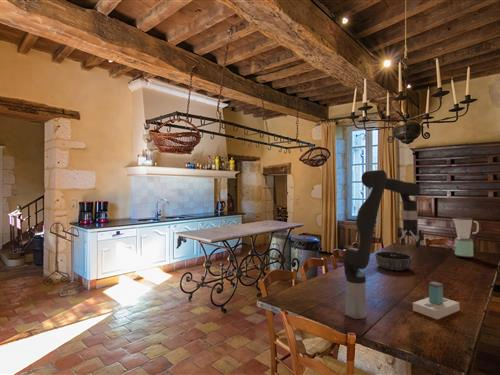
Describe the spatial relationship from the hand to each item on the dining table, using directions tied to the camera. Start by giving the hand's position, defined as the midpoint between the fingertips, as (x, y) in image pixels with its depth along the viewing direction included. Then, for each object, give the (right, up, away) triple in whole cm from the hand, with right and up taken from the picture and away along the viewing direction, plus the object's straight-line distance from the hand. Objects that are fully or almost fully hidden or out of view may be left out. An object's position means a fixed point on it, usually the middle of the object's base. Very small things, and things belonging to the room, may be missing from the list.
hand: (410, 246), depth 169 cm
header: (+3, -29, -18) cm, 34 cm away
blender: (+97, -28, +89) cm, 134 cm away
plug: (+3, -29, -18) cm, 34 cm away
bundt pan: (+20, -29, +61) cm, 70 cm away
